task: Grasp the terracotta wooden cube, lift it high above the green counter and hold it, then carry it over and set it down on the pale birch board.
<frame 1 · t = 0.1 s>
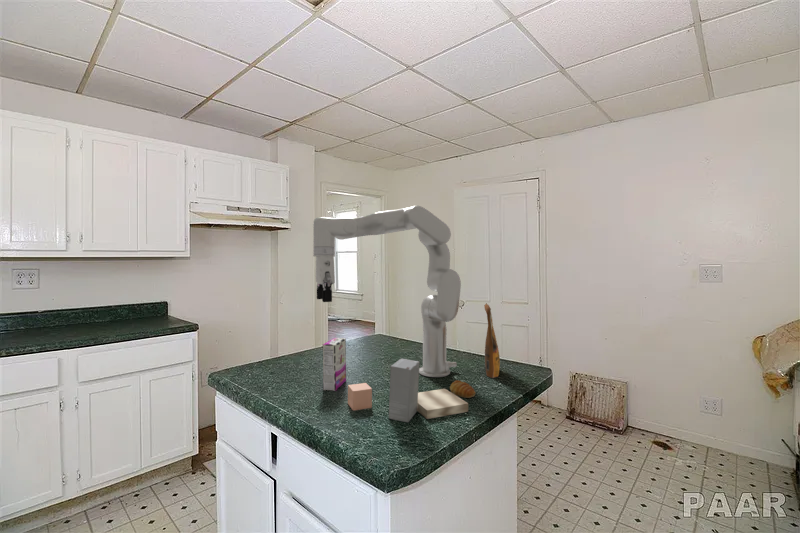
hand: (324, 300, 133), 31 cm above the counter, tool pointing down, fingers open, 9 cm apart
pastry: (462, 394, 129), on the counter
birch board: (436, 406, 117), on the counter
candy bar box: (334, 386, 135), on the counter
terracotta cube: (359, 405, 117), on the counter
pancake mix bag: (491, 372, 153), on the counter
skincare box: (404, 416, 110), on the counter
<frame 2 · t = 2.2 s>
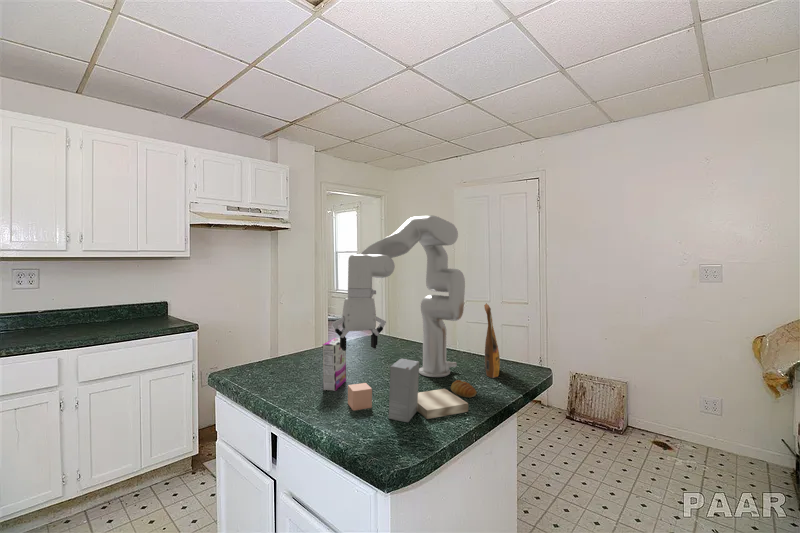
hand: (358, 348, 117), 18 cm above the counter, tool pointing down, fingers open, 9 cm apart
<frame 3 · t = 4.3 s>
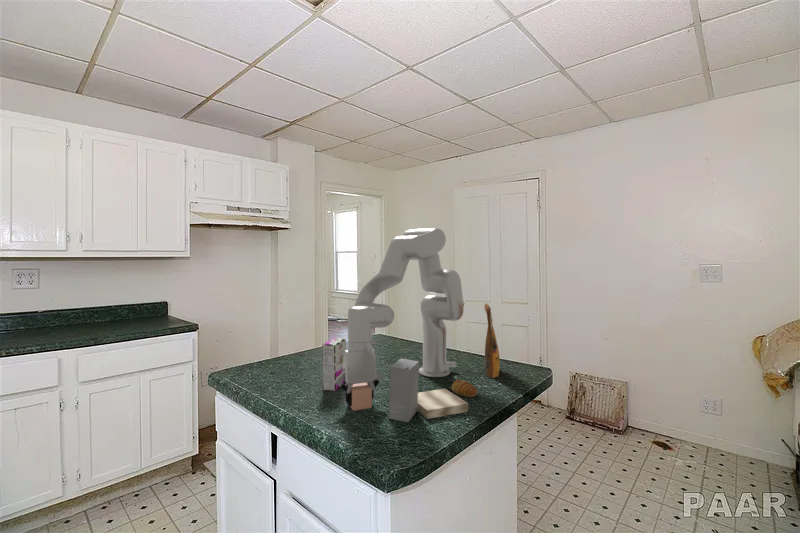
hand: (359, 402, 117), 1 cm above the counter, tool pointing down, fingers closed on terracotta cube, 6 cm apart
terracotta cube: (359, 405, 117), on the counter, touching gripper
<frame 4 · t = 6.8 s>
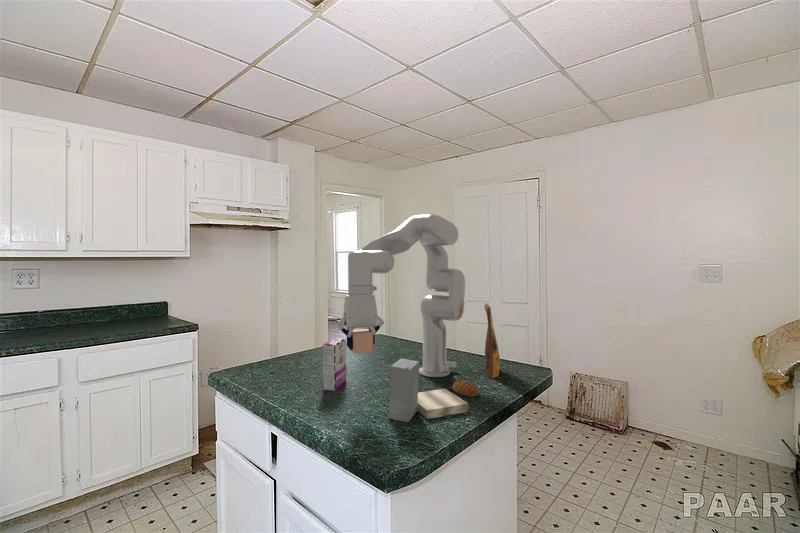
hand: (360, 347, 117), 18 cm above the counter, tool pointing down, fingers closed on terracotta cube, 6 cm apart
terracotta cube: (360, 350, 117), point 17 cm above the counter, touching gripper
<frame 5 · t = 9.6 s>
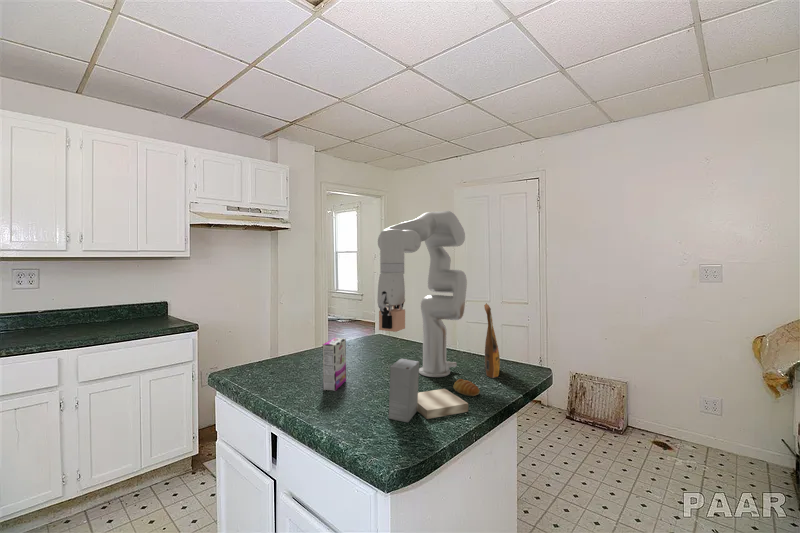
hand: (392, 325, 117), 25 cm above the counter, tool pointing down, fingers closed on terracotta cube, 6 cm apart
terracotta cube: (392, 329, 117), point 24 cm above the counter, touching gripper
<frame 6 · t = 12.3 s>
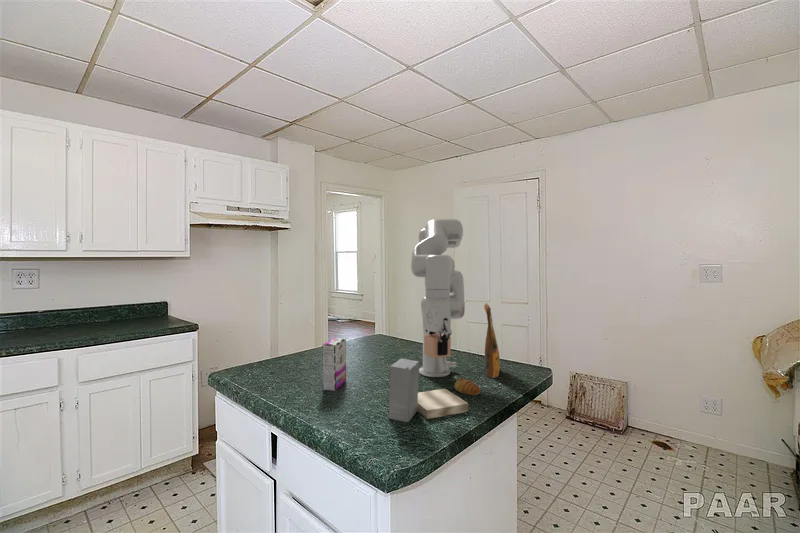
hand: (437, 351, 116), 17 cm above the counter, tool pointing down, fingers closed on terracotta cube, 6 cm apart
terracotta cube: (437, 355, 116), point 16 cm above the counter, touching gripper
when the fingers open (5 cm above the counter, at t = 15.0 s): terracotta cube drops 1 cm, resting on birch board.
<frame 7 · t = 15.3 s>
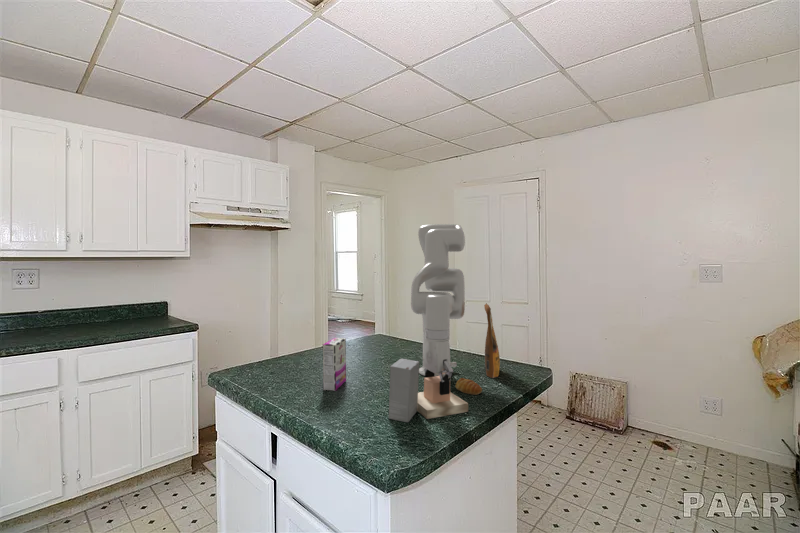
hand: (436, 389, 117), 6 cm above the counter, tool pointing down, fingers open, 9 cm apart
terracotta cube: (436, 398, 117), point 2 cm above the counter, touching birch board
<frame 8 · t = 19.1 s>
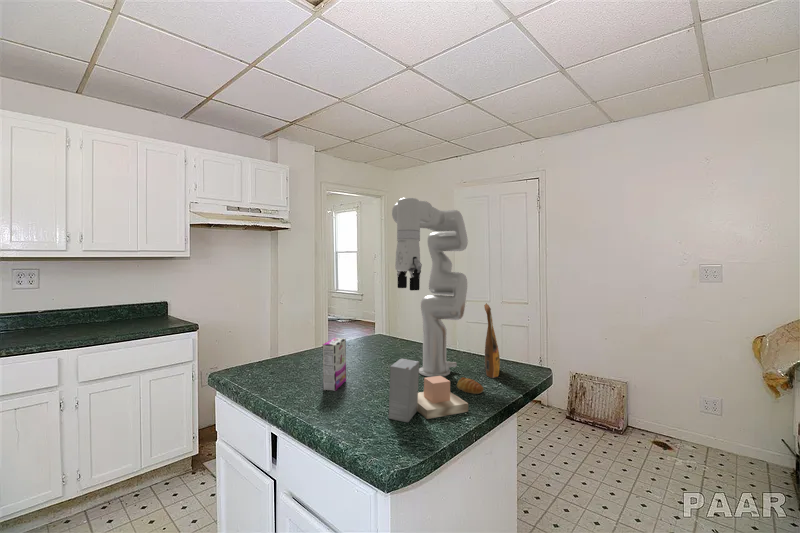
hand: (408, 289, 122), 36 cm above the counter, tool pointing down, fingers open, 9 cm apart
at the end: terracotta cube inside the target area on the birch board (0.1 cm from its centre), point 2.5 cm above the birch board's base; terracotta cube tilted 0°; the gripper is holding nothing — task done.
